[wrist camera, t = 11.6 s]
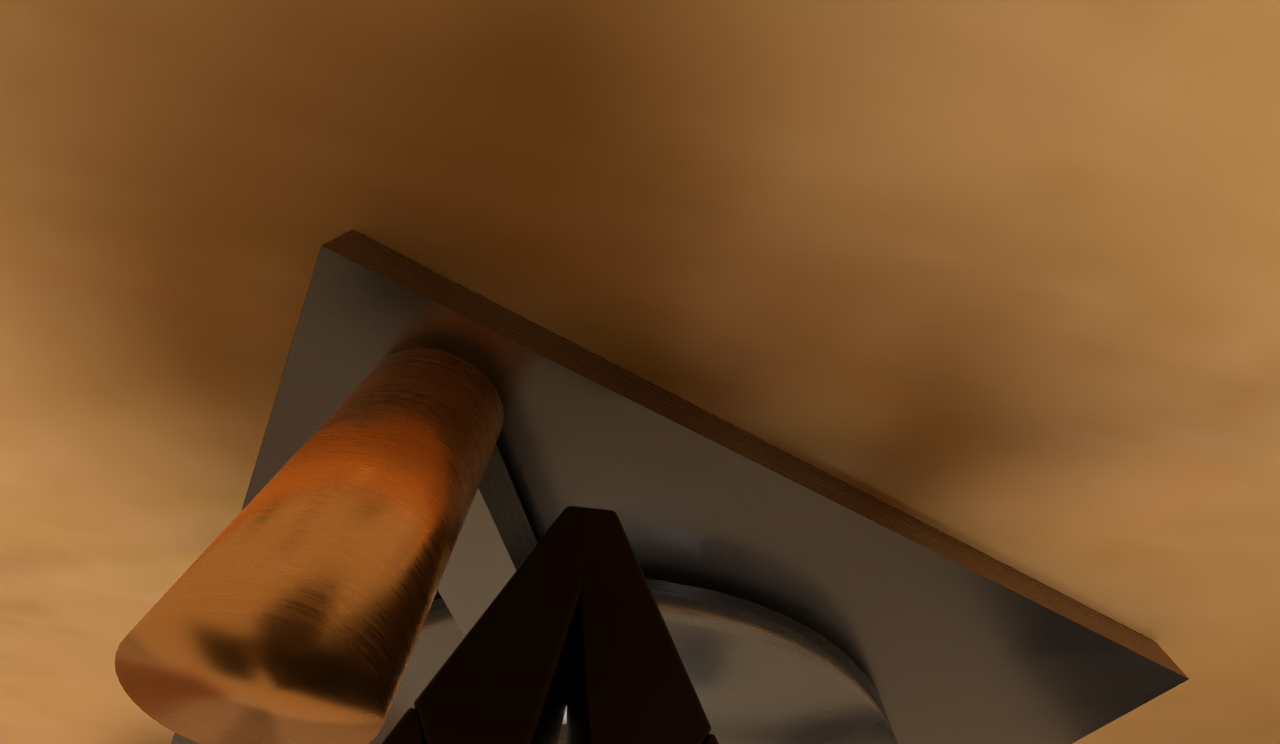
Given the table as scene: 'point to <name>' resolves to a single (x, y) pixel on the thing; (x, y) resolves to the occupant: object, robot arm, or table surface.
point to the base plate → (729, 514)
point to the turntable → (425, 591)
